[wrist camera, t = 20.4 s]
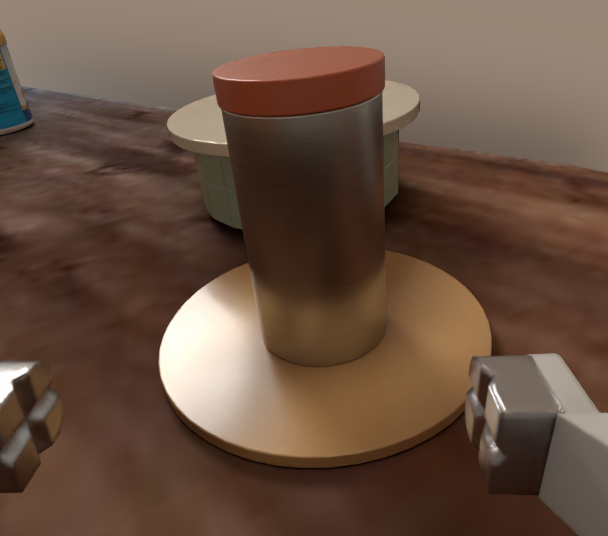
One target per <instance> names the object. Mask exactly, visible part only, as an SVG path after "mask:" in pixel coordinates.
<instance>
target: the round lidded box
mask: <svg viewBox="0 0 608 536" xmlns="http://www.w3.org/2000/svg"><path fill="white" fill-rule="evenodd" d="M383 152H384V205H385V206H386V205H387V204H388V203H389V202H390V201H391V200H392V199H393V198H394V197H395V196H396V195H397V193H398V186H399V130H397V131H395V132H393V133H390V134H388V135H385V136H383ZM193 153H194V158H195V162H196V167H197V171H198V177H199V181H200V186H201V191H202V195H203V200H204V205H205V208H206V209H207V211H208V212H209V213H210V215H211V216H212V217H213V218H214V219H215V220H217V221H220V222H222V223H224V224H226V225H228V226H230V227H234V228H237V229H242V224H241V218H240V213H239V207H238V201H237V196H236V190H235V184H234V179H233V173H232V167H231V162H230V157H221V156H212V155H205V154H200V153H195V152H193Z"/></svg>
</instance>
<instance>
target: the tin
mask: <svg viewBox="0 0 608 536" xmlns="http://www.w3.org/2000/svg"><path fill="white" fill-rule="evenodd" d="M212 76H213V82H214V88H215V93H216V99H217V104H218V106H219V107H220V108H221V111H222V117H223V122H224V128H225V134H226V139H227V145H228V150H229V156H230V162H231V167H232V173H233V179H234V184H235V190H236V196H237V201H238V207H239V213H240V218H241V224H242V229H243V235H244V241H245V246H246V252H247V258H248V263H249V269H250V275H251V280H252V286H253V292H254V297H255V303H256V308H257V314H258V320H259V325H260V331H261V336H262V339H263V342H264V343H265V345H266V346H267V348H268V349H269V350H270V351H271V352H272V353H274V354H275V355H276V356H278V357H280V358H282V359H284V360H286V361H289V362H291V363H295V364H299V365H305V366H331V365H337V364H342V363H346V362H349V361H352V360H354V359H357V358H359V357H361V356H363V355H365V354H366V353H368V352H369V351H371V350H372V349H373V348H374V347H375V346H376V345H377V344H378V343H379V342H380V341H381V339H382V337H383V335H384V334H385V331H386V326H387V309H386V257H385V205H384V152H383V100H382V91H383V90H384V88H385V56H384V54H383V53H382V52H381V51H378V50H375V49H370V48H364V47H345V46H340V47H316V48H304V49H295V50H286V51H279V52H272V53H266V54H260V55H256V56H251V57H247V58H242V59H239V60H235V61H232V62H229V63H227V64H224V65H222V66H220V67H218V68H216V69H215V70H214V71H213V73H212Z"/></svg>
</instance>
